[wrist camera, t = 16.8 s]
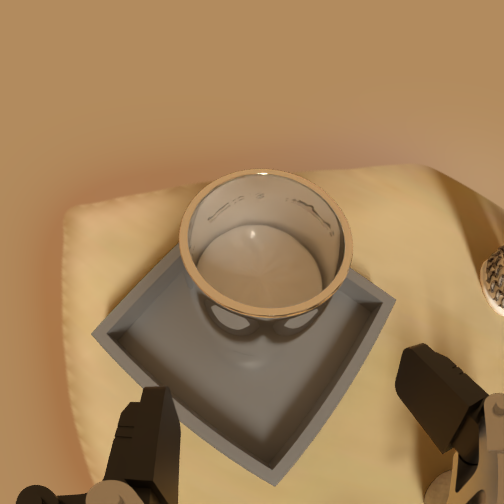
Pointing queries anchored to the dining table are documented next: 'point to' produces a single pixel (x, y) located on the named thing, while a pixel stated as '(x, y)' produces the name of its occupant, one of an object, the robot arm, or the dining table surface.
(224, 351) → the beer glass
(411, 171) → the dining table surface
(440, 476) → the house plant
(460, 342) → the dining table surface
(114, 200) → the dining table surface
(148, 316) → the serving tray
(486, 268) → the decorative candle
